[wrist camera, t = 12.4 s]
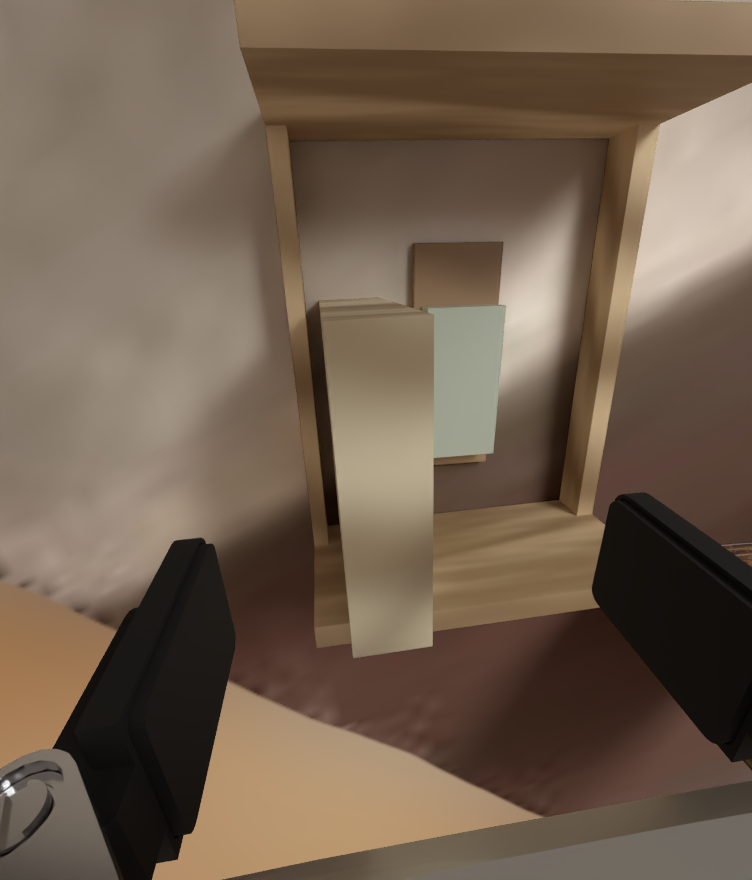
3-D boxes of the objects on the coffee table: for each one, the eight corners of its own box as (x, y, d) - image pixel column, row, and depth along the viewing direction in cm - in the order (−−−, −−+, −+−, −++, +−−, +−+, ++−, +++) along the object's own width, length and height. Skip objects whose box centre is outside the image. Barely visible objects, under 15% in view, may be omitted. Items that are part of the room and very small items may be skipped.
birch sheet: (318, 300, 21) (322, 321, 11) (377, 297, 21) (434, 314, 11) (338, 506, 25) (353, 658, 15) (386, 501, 26) (432, 646, 16)
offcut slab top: (421, 306, 21) (428, 308, 20) (495, 304, 22) (506, 305, 21) (419, 450, 24) (424, 458, 23) (484, 445, 25) (493, 452, 24)
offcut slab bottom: (409, 245, 21) (415, 243, 20) (493, 243, 22) (503, 241, 21) (408, 458, 26) (412, 466, 25) (478, 453, 26) (485, 460, 25)
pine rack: (266, 107, 18) (232, -14, 10) (633, 107, 20) (824, 5, 12) (316, 543, 26) (316, 648, 19) (570, 513, 28) (662, 598, 21)
